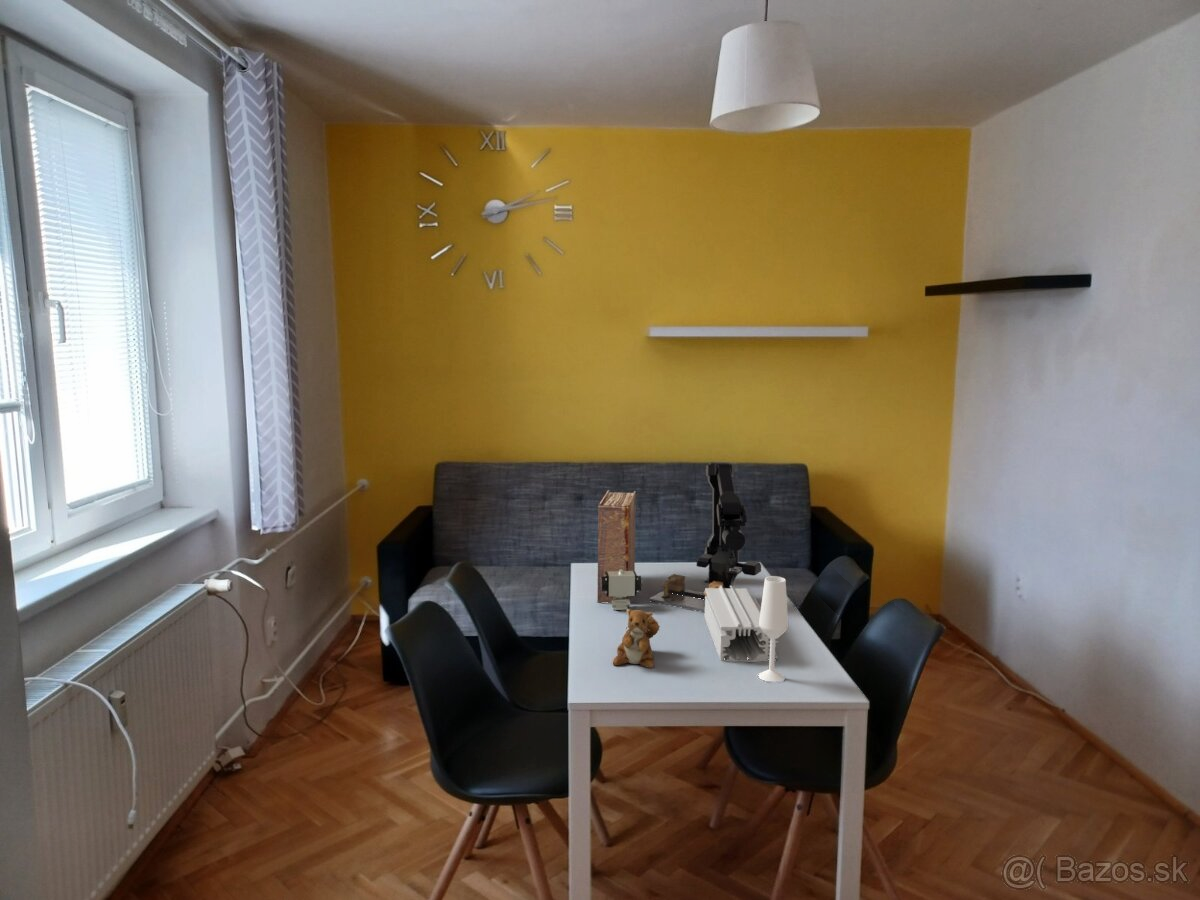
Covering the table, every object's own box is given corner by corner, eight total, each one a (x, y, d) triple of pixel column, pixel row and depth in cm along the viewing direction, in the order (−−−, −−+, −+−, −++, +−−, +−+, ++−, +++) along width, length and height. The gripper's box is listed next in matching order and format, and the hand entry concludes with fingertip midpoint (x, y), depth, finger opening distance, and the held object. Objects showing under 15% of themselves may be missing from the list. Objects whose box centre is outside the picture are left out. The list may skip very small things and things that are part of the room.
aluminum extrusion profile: (754, 619, 227) (755, 585, 225) (777, 663, 197) (779, 624, 195) (704, 619, 227) (705, 585, 225) (720, 662, 197) (721, 623, 195)
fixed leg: (673, 586, 251) (673, 573, 250) (684, 588, 249) (685, 575, 248) (658, 595, 242) (658, 582, 241) (670, 597, 240) (670, 584, 239)
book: (607, 578, 264) (608, 489, 260) (634, 579, 263) (636, 490, 258) (597, 603, 239) (598, 505, 235) (627, 604, 238) (629, 506, 234)
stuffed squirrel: (610, 667, 192) (611, 615, 191) (624, 645, 206) (625, 597, 204) (651, 672, 190) (652, 619, 188) (662, 650, 203) (663, 600, 201)
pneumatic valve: (641, 611, 232) (642, 571, 230) (601, 612, 231) (601, 572, 229) (638, 604, 237) (639, 566, 236) (599, 605, 236) (600, 566, 235)
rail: (669, 590, 251) (669, 583, 251) (754, 606, 237) (754, 598, 237) (665, 593, 249) (665, 585, 248) (750, 609, 234) (750, 601, 234)
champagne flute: (753, 671, 190) (757, 575, 187) (781, 671, 191) (785, 574, 187) (761, 683, 184) (765, 583, 180) (789, 683, 184) (793, 583, 181)
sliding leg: (713, 593, 244) (714, 581, 243) (725, 596, 242) (726, 583, 241) (699, 603, 235) (699, 590, 234) (712, 605, 233) (712, 592, 232)
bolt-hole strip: (661, 594, 247) (661, 591, 247) (733, 608, 235) (733, 604, 235) (649, 601, 240) (649, 598, 240) (723, 616, 228) (723, 612, 228)
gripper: (689, 543, 235) (688, 594, 237) (749, 552, 225) (747, 605, 228) (704, 535, 244) (703, 584, 247) (762, 543, 235) (760, 594, 237)
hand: (727, 592), depth 239 cm, fingers closed
